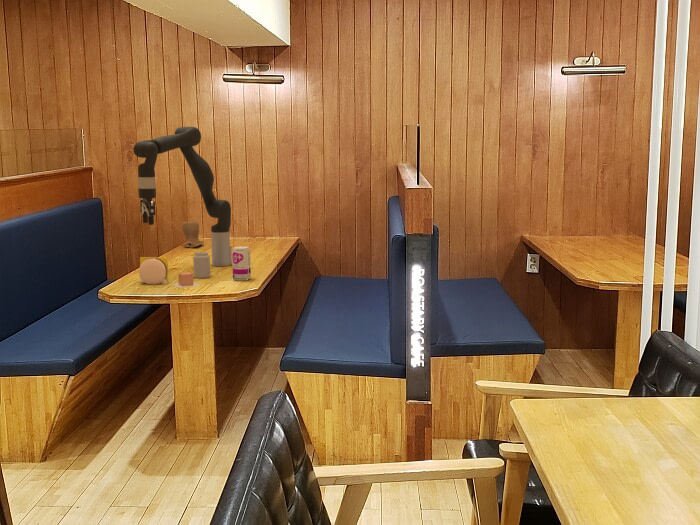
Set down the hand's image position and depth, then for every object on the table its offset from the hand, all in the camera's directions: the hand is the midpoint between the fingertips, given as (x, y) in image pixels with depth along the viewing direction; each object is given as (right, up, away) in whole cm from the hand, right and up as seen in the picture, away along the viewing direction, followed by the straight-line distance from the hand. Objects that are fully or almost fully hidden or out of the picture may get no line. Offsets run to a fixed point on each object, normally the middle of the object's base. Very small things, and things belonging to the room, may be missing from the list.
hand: (148, 223), depth 349 cm
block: (+17, -27, -1) cm, 32 cm away
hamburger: (+2, -27, +3) cm, 27 cm away
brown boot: (-3, -8, +112) cm, 112 cm away
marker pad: (+17, -28, 0) cm, 32 cm away
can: (+21, -25, +17) cm, 37 cm away
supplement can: (+40, -25, +14) cm, 49 cm away
